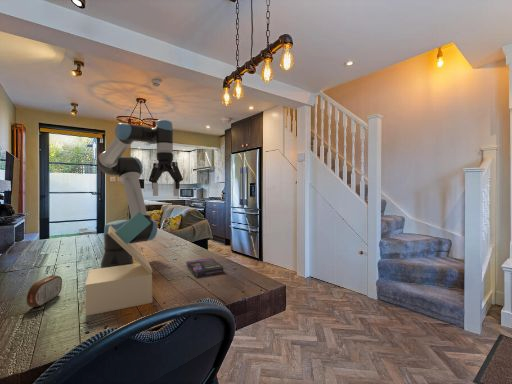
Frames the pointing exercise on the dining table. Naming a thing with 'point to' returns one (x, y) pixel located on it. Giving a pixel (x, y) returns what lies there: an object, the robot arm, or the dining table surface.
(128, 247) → the flap
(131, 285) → the carton
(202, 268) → the box
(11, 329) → the dining table surface
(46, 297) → the tin
